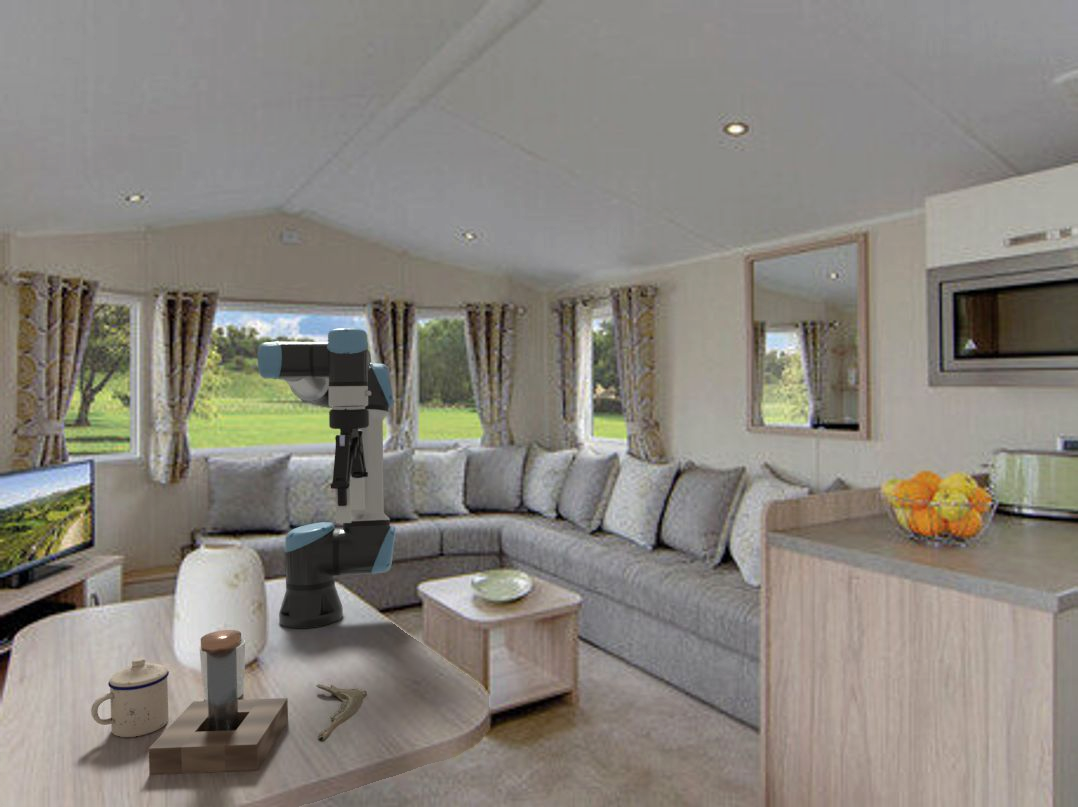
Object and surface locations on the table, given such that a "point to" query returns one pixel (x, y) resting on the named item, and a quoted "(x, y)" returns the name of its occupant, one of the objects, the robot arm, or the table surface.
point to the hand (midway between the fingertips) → (351, 515)
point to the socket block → (219, 739)
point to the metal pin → (222, 678)
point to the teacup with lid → (136, 699)
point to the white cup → (240, 669)
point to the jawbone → (348, 708)
